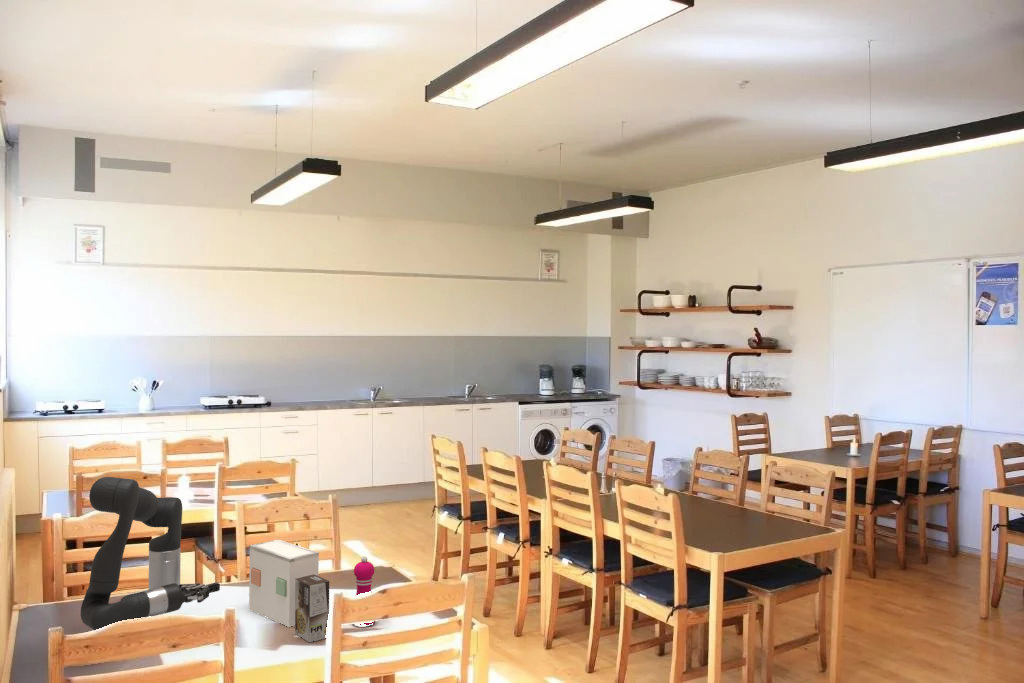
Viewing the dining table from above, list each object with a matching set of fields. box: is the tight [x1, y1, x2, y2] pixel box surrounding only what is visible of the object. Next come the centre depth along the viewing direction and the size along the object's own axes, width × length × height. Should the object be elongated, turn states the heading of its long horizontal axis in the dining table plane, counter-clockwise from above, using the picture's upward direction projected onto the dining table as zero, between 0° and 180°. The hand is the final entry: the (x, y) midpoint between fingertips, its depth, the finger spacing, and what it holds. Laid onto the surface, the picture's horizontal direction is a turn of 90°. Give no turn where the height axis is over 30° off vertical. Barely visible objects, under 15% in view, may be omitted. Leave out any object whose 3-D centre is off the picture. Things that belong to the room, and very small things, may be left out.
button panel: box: [248, 539, 320, 628], centre depth 249 cm, size 22×10×20 cm, turn 48°
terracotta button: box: [251, 568, 261, 586], centre depth 251 cm, size 4×4×4 cm
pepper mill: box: [353, 556, 375, 625], centre depth 242 cm, size 7×7×20 cm
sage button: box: [276, 578, 287, 597], centre depth 242 cm, size 4×4×4 cm
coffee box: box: [294, 574, 331, 643], centre depth 232 cm, size 9×6×16 cm
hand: (218, 586), depth 241 cm, fingers closed
